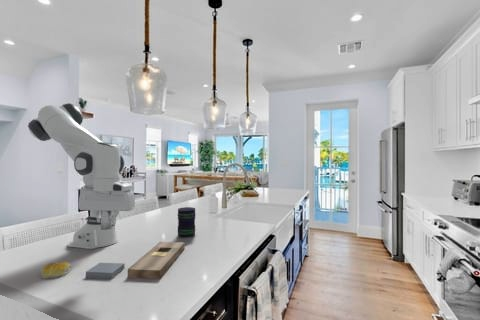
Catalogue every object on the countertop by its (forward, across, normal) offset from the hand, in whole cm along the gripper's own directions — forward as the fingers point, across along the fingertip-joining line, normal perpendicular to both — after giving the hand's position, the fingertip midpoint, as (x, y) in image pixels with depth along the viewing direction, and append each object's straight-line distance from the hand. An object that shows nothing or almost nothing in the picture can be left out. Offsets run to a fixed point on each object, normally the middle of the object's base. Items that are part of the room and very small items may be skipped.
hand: (106, 222), depth 92 cm
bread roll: (+19, -18, -2) cm, 26 cm away
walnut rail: (+19, +16, +12) cm, 27 cm away
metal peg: (+2, 0, 0) cm, 2 cm away
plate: (+19, 0, 0) cm, 19 cm away
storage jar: (+19, +17, +48) cm, 54 cm away
